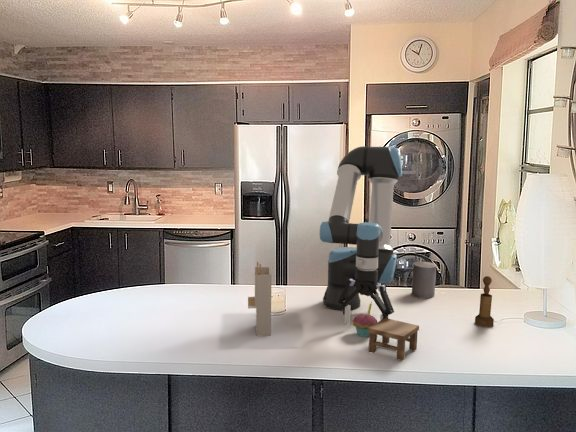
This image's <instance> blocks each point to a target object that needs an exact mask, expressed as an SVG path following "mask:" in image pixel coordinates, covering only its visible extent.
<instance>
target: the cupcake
mask: <svg viewBox="0 0 576 432" xmlns="http://www.w3.org/2000/svg"><path fill="white" fill-rule="evenodd" d="M372 302H373V301H371V302H370V303H369V305H368V310H367V313H361V314H357V315H356V316H354V317H353V318H352V322H351V323H352V326H354V327H355V329H356V334H357V335H358V336H359V337H365V338H369V332H368V328H369V327H371V326H372V325H374V324H376V323H377V322H378V320H377V318H375V317H374V315H371V309H372Z"/></svg>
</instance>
